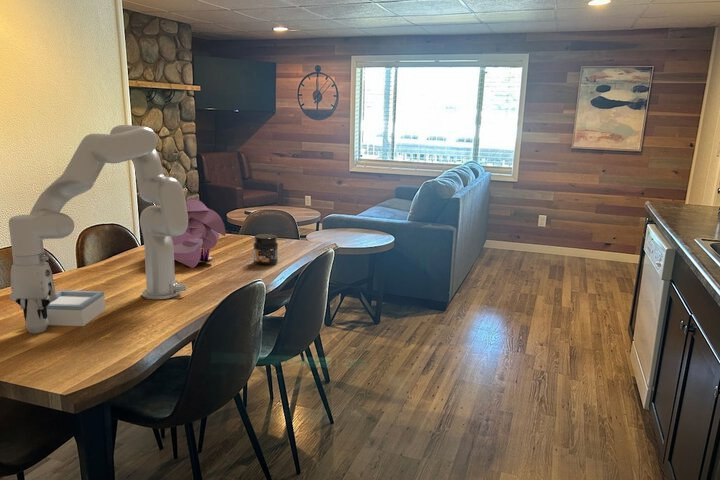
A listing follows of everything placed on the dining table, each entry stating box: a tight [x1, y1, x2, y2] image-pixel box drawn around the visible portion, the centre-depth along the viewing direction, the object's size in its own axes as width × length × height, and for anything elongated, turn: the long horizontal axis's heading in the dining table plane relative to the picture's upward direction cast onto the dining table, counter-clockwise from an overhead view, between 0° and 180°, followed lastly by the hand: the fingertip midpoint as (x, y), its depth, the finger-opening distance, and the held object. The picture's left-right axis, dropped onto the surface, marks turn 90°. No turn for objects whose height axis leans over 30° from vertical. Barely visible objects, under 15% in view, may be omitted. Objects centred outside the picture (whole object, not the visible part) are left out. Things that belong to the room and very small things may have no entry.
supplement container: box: [252, 233, 279, 266], centre depth 233 cm, size 10×10×12 cm
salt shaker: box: [24, 299, 49, 335], centre depth 153 cm, size 6×6×13 cm
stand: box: [46, 289, 106, 327], centre depth 165 cm, size 14×14×6 cm
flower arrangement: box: [172, 199, 226, 269], centre depth 231 cm, size 35×24×28 cm
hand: (36, 320), depth 154 cm, fingers closed on salt shaker, 3 cm apart
